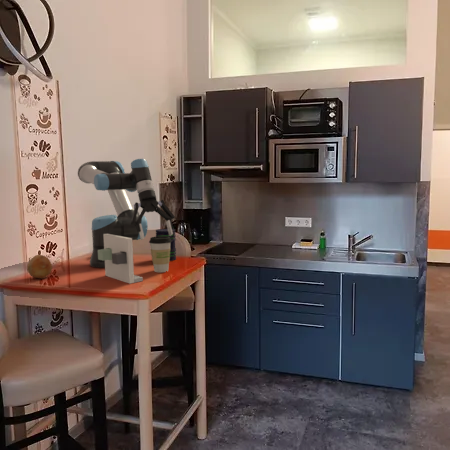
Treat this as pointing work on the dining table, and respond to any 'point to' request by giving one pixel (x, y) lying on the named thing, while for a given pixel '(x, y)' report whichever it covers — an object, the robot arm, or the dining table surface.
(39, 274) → the onion
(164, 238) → the coffee cup
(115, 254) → the black button
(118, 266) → the button panel
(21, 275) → the dining table surface
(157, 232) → the storage jar
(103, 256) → the sage button
